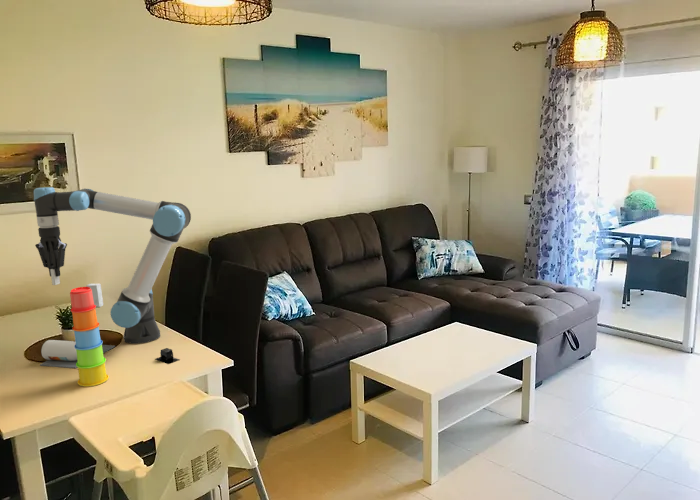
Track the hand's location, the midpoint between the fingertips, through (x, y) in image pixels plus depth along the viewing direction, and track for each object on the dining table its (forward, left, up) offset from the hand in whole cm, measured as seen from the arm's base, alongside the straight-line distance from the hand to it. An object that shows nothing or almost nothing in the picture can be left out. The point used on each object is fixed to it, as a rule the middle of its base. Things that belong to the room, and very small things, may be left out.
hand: (56, 284), depth 227 cm
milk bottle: (0, +9, -24) cm, 26 cm away
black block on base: (-48, 0, -30) cm, 56 cm away
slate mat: (-9, +3, -29) cm, 30 cm away
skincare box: (+34, -63, -29) cm, 77 cm away
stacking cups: (-32, +24, -29) cm, 50 cm away
